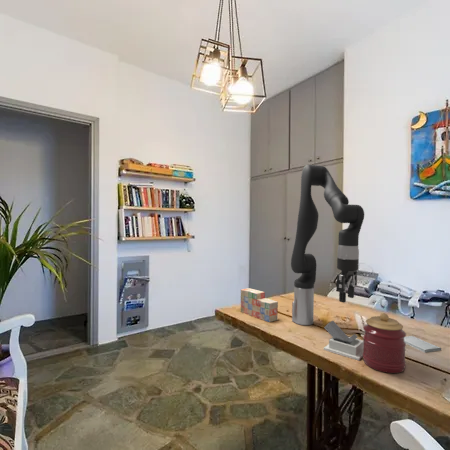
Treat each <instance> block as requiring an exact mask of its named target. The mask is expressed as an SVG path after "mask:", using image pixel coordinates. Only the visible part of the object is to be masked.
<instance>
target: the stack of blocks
mask: <svg viewBox="0 0 450 450" xmlns="http://www.w3.org/2000/svg"><path fill="white" fill-rule="evenodd" d="M278 308H279V301H276V300H273V299H271V298H270V299H269V298H268V297H266V293H265V291H262V290H259V289H258V290H257V289H253V288H249V287H247V288H242V289H240V312H241V313H243V314H246V315H249V316H251V317H255V318H257V319H260V320H263V321H265V322H267V323H272V322H274V321H278Z"/></svg>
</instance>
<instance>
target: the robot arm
mask: <svg viewBox="0 0 450 450" xmlns="http://www.w3.org/2000/svg"><path fill="white" fill-rule="evenodd" d="M300 178H301V179H300V201H299V208H298V215H297V223H296V234H295V238H294V239H295V240H294V245H293V249H292V254H291V259H290V268H291V270H292V271H293V273H294V274H301V275H300V276H299V277H298V278H296V279H295V280H294V282H293V283H294V285H293V294H294V295H293V301H292V304H291V305H292V308H291V322H293V323H295V324H297V325H301V326H312V325H313V324H314V316H315V315H314V304H315V303H314V301H315V300H314V299H315V296H314V295H315V292H314V291H315V283H316V278H317V260H316V257H315V256H314V254H312V253H306V248H307V246H308V243H309V242H310V240H311V239H312V237H313V236H314V235H315V233H316V231H317V229H318V224H319V212H318V208H317V207H316V204H315V202H314V200H313V197H312V186H314V187H319V186H320V187H322V188H323V189H324V190H323V198H324V200H325V201H326V203H327V204H328V206H329V207H330V208H331V210H332V211H331V212H332V214H333V217H334V219H335V221H336V222H338V223H341V224H348V226H347V228H343V229H340V231H339V232H338V241H337V242H338V243H337V244H338V246H337V251H336V253H337V254H336V255H337V257H336V258H337V259H336V261H337V262H336V268H337V270H339V271H340V274H339V273H338V274H337V275H336V288H335V289H336V291H338V294H339V295H338V297H339V298H338V300H339V301H338V302H341V303H346V302H347V301H346V300H347V297H348V298H351V299H354V298H355V288H356V287H357V286H358V271H359V266H360V265H359V262H360V260H359V259H360V258H359V257H360V249H359V239H360V238H359V237H360V231H361V229H362V225H363V223H364V218H365V210H364V208H363V207H362V206H361V205H359V204H349V202H350V201H349V198H348V196H347V195H346V194H345V193H344V192H343V191H342V190H341V189H340V188H339V187H338V185H337V184H336V182H335V180H334V178H333V176H332V174H331V173H330V172H329V169H328V168H327V167H325V166H323V165H316V164H305V166H304V167H303V168H302V171H301V177H300Z"/></svg>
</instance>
